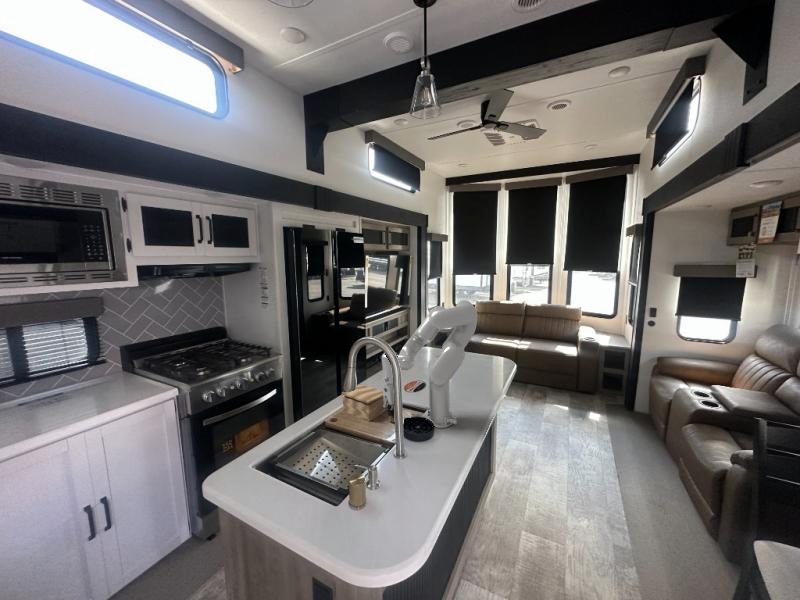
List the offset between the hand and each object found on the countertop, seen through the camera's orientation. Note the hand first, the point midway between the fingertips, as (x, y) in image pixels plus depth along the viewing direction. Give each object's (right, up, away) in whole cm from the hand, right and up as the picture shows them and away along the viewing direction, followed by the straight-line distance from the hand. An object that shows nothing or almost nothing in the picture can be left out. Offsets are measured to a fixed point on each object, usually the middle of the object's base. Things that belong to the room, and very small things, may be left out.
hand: (394, 413), depth 148 cm
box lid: (-16, +6, +10) cm, 20 cm away
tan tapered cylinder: (0, -3, 0) cm, 2 cm away
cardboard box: (-15, -2, +11) cm, 19 cm away
